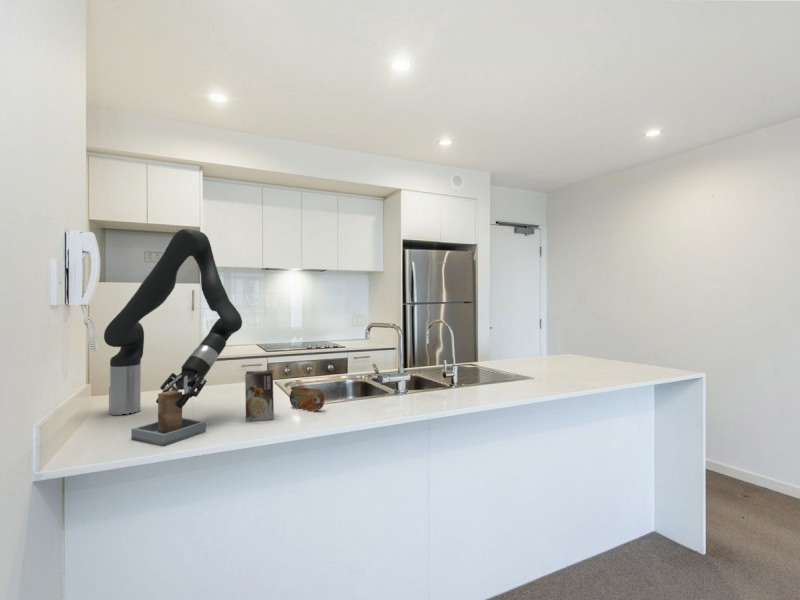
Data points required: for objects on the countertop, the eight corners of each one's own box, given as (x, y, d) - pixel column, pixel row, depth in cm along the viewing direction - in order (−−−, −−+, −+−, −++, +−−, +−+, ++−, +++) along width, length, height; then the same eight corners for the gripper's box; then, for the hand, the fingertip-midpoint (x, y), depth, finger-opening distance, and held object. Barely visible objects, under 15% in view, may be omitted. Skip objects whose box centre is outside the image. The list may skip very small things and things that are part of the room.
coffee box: (274, 414, 146) (274, 369, 146) (273, 419, 140) (273, 372, 140) (246, 416, 143) (246, 370, 143) (244, 421, 137) (244, 374, 137)
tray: (131, 439, 120) (131, 429, 120) (174, 425, 133) (174, 416, 133) (164, 446, 114) (164, 435, 114) (205, 431, 127) (205, 421, 127)
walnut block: (158, 433, 123) (158, 393, 123) (171, 429, 127) (171, 390, 127) (168, 435, 121) (168, 394, 121) (182, 431, 125) (182, 391, 125)
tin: (288, 408, 155) (288, 385, 155) (294, 406, 158) (294, 384, 158) (320, 413, 148) (320, 389, 148) (325, 411, 151) (325, 388, 151)
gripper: (178, 353, 134) (143, 396, 123) (209, 356, 128) (176, 400, 118) (192, 367, 139) (160, 409, 128) (223, 370, 133) (192, 414, 123)
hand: (168, 405), depth 123 cm, fingers open, 8 cm apart
